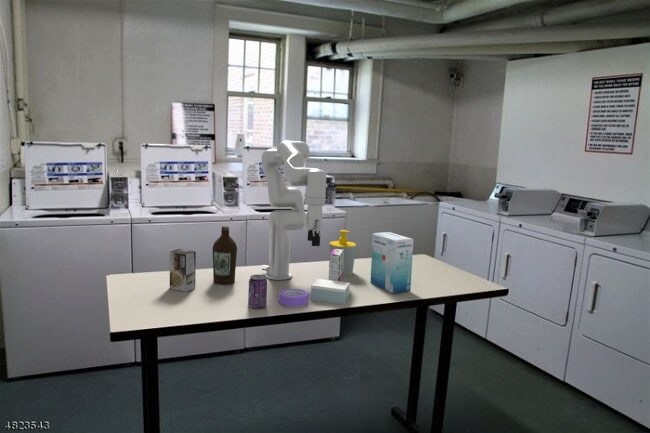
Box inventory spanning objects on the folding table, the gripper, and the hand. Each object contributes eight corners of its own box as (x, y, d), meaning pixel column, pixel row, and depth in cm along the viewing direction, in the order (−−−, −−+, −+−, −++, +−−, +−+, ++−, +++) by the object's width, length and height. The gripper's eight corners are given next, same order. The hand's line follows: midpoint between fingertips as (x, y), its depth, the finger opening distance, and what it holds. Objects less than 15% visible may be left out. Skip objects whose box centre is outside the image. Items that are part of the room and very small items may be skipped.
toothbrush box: (368, 283, 237) (372, 232, 233) (386, 280, 243) (390, 231, 239) (392, 294, 222) (396, 240, 218) (410, 291, 228) (415, 238, 224)
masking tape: (275, 298, 210) (275, 289, 209) (301, 296, 214) (302, 287, 214) (284, 308, 199) (284, 298, 198) (311, 305, 204) (312, 296, 203)
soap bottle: (354, 277, 246) (357, 234, 243) (327, 275, 246) (330, 232, 243) (353, 269, 259) (356, 228, 256) (328, 268, 259) (330, 227, 256)
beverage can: (248, 303, 202) (249, 273, 200) (266, 303, 202) (267, 274, 200) (247, 309, 195) (248, 279, 193) (266, 309, 195) (267, 279, 193)
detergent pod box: (310, 299, 210) (311, 285, 209) (316, 292, 220) (317, 278, 219) (343, 304, 207) (344, 289, 206) (348, 296, 216) (349, 282, 215)
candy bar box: (332, 283, 234) (334, 248, 231) (342, 284, 233) (344, 249, 230) (327, 290, 223) (329, 253, 221) (338, 291, 222) (340, 255, 220)
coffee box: (196, 288, 216) (196, 251, 214) (186, 292, 210) (186, 254, 208) (179, 284, 220) (179, 248, 217) (168, 288, 214) (168, 250, 212)
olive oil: (215, 277, 233) (216, 223, 228) (238, 279, 232) (240, 225, 228) (208, 284, 222) (209, 228, 218) (232, 286, 222) (234, 229, 217)
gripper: (302, 198, 210) (301, 238, 212) (309, 204, 193) (307, 248, 196) (320, 198, 211) (318, 238, 214) (329, 204, 194) (326, 248, 197)
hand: (313, 243), depth 205 cm, fingers open, 9 cm apart
